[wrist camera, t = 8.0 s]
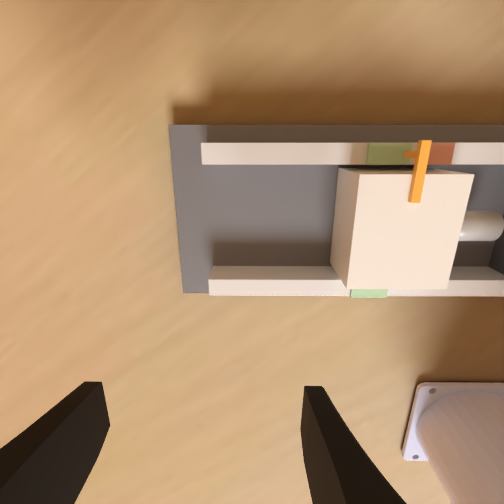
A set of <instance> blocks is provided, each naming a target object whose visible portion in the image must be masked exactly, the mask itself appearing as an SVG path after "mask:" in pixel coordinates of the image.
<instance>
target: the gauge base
mask: <svg viewBox="0 0 504 504" xmlns="http://www.w3.org/2000/svg"><path fill="white" fill-rule="evenodd" d="M169 136H170V147H171V159H172V170H173V181H174V193H175V204H176V216H177V227H178V239H179V250H180V262H181V273H182V284H183V293H209V296H350V297H351V298H387V296H504V229H503V232H502V234H501V236H500V237H499V238H498V239H496V240H494V241H458V245H457V249H456V253H455V257H454V261H453V265H452V269H451V273H450V278H449V282H448V286H447V289H346V287H345V286H344V284H343V283H342V281H341V279H340V278H339V276H338V275H337V273H336V271H335V270H334V268H333V267H332V265H331V263H330V255H331V244H332V233H333V222H334V212H335V201H336V190H337V179H338V169H339V168H414V163H415V159H413V158H404V152H405V151H417V146H418V140H432V142H431V148H430V153H429V158H428V164H427V168H435V169H442V170H449V171H455V172H462V173H469V174H474V179H473V183H472V187H471V191H470V195H469V199H468V203H467V207H466V210H495V211H498V212H499V213H500V214H501V215H502V217H503V219H504V124H373V125H169Z"/></svg>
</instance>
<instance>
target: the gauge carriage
mask: <svg viewBox="0 0 504 504" xmlns="http://www.w3.org/2000/svg"><path fill="white" fill-rule="evenodd" d="M431 142H432V140H418V146H417V151H405V152H404V158H413V159H415V163H414V168H339V169H338V179H337V190H336V201H335V212H334V222H333V233H332V244H331V255H330V263H331V265H332V267H333V268H334V270H335V271H336V273H337V275H338V276H339V278H340V279H341V281H342V283H343V284H344V286H345V287H346V289H447V286H448V282H449V278H450V273H451V269H452V265H453V261H454V257H455V253H456V249H457V245H458V241H494V240H496V239H498V238H499V237H500V236H501V234H502V232H503V229H504V219H503V217H502V215H501V214H500V213H499V212H498V211H495V210H466V207H467V203H468V199H469V195H470V191H471V187H472V183H473V179H474V174H469V173H462V172H455V171H449V170H442V169H435V168H427V164H428V158H429V153H430V148H431Z"/></svg>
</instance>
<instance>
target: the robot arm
mask: <svg viewBox="0 0 504 504" xmlns="http://www.w3.org/2000/svg"><path fill="white" fill-rule="evenodd" d="M430 389H431V390H430ZM109 427H110V422H109V416H108V411H107V406H106V401H105V396H104V390H103V385H102V382H84V383H82V384H81V385H80V386H79V387H77V388H76V389H75V390H74V391H72V392H71V393H70V394H69V395H67V396H66V397H65V398H64V399H63V400H61V401H60V402H59V403H58V404H57V405H55V406H54V407H53V408H52V409H50V410H49V411H48V412H47V413H46V414H44V415H43V416H42V417H41V418H39V419H38V420H37V421H36V422H34V423H33V424H32V425H31V426H29V427H28V428H27V429H26V430H24V431H23V432H22V433H21V434H19V435H18V436H17V437H15V438H14V439H13V440H11V441H10V442H9V443H7V444H6V445H5V446H3V447H2V448H1V449H0V504H74V503H75V501H76V499H77V497H78V495H79V493H80V492H81V490H82V488H83V486H84V484H85V482H86V480H87V478H88V476H89V474H90V472H91V470H92V468H93V466H94V464H95V462H96V460H97V458H98V456H99V453H100V451H101V448H102V446H103V443H104V441H105V438H106V435H107V432H108V430H109ZM301 438H302V448H303V456H304V463H305V468H306V473H307V478H308V483H309V488H310V493H311V497H312V502H313V504H406V503H405V501H404V500H403V499H402V498H401V497H400V496H399V494H398V493H397V492H396V491H395V490H394V488H393V487H392V486H391V485H390V484H389V482H388V481H387V480H386V479H385V477H384V476H383V475H382V474H381V472H380V471H379V470H378V469H377V467H376V466H375V465H374V463H373V462H372V461H371V459H370V458H369V457H368V455H367V454H366V453H365V451H364V450H363V449H362V447H361V446H360V444H359V443H358V441H357V440H356V439H355V437H354V436H353V434H352V433H351V431H350V430H349V428H348V427H347V425H346V424H345V422H344V421H343V419H342V418H341V416H340V414H339V413H338V411H337V410H336V408H335V406H334V405H333V403H332V401H331V400H330V398H329V396H328V394H327V393H326V391H325V389H324V388H323V387H322V386H304V397H303V408H302V419H301ZM402 456H403V458H404V460H406V461H428V462H429V463H430V465H431V467H432V469H433V471H434V473H435V474H436V476H437V478H438V480H439V482H440V484H441V485H442V487H443V489H444V491H445V493H446V495H447V496H448V498H449V500H450V502H451V504H504V383H461V382H423V383H420V384H419V385H418V386H417V389H416V393H415V398H414V402H413V406H412V410H411V415H410V419H409V423H408V428H407V432H406V436H405V440H404V445H403V449H402Z"/></svg>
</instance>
